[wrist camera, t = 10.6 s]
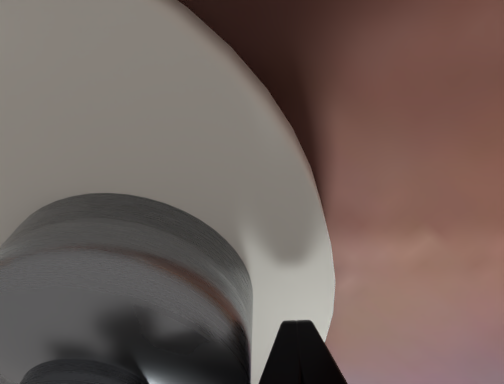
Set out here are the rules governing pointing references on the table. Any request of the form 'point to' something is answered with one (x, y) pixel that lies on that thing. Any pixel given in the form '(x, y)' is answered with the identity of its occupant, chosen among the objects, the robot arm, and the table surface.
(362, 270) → the table surface
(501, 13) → the table surface
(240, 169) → the turntable
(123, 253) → the cover
